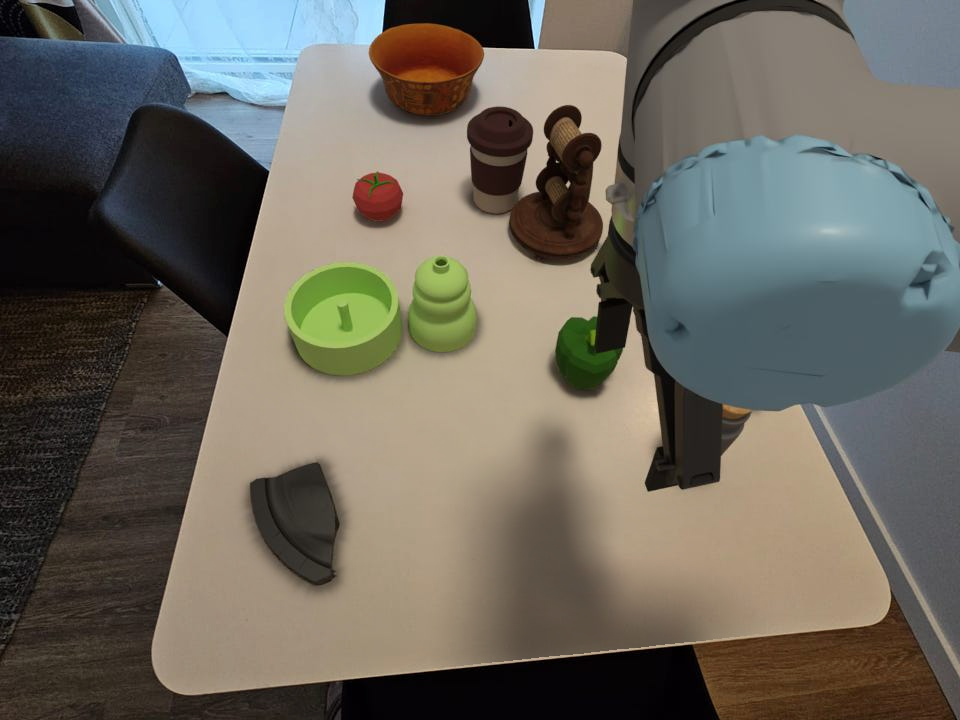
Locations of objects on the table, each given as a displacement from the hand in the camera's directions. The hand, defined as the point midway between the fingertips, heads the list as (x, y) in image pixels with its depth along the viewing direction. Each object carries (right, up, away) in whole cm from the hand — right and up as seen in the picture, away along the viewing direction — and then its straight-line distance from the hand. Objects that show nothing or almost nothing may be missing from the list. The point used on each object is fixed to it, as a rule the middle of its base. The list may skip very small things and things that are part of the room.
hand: (633, 410), depth 49 cm
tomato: (-29, +28, +44) cm, 60 cm away
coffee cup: (-11, +31, +47) cm, 58 cm away
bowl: (-23, +55, +64) cm, 87 cm away
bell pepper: (0, +3, +28) cm, 28 cm away
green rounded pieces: (-26, +9, +31) cm, 41 cm away
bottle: (+12, -8, +21) cm, 25 cm away
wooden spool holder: (-1, +25, +43) cm, 50 cm away
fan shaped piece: (-34, -14, +15) cm, 39 cm away
